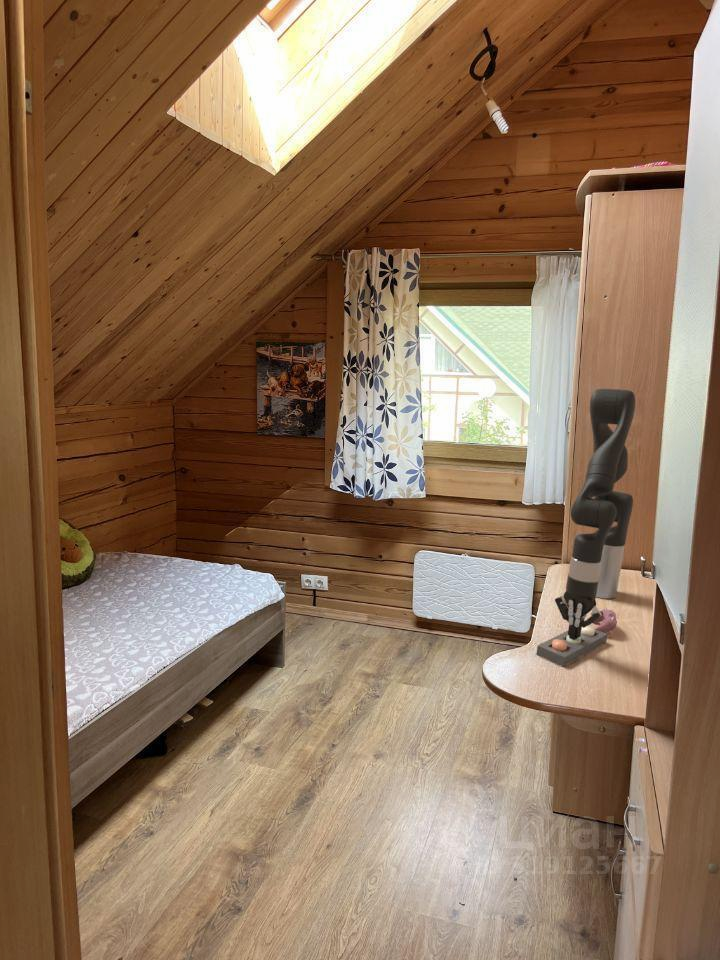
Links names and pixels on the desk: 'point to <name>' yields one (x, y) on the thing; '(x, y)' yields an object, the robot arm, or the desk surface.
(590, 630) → the cream button
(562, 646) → the terracotta button
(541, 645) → the button panel
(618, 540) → the robot arm
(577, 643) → the sage button
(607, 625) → the video game controller
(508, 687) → the desk surface
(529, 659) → the desk surface
